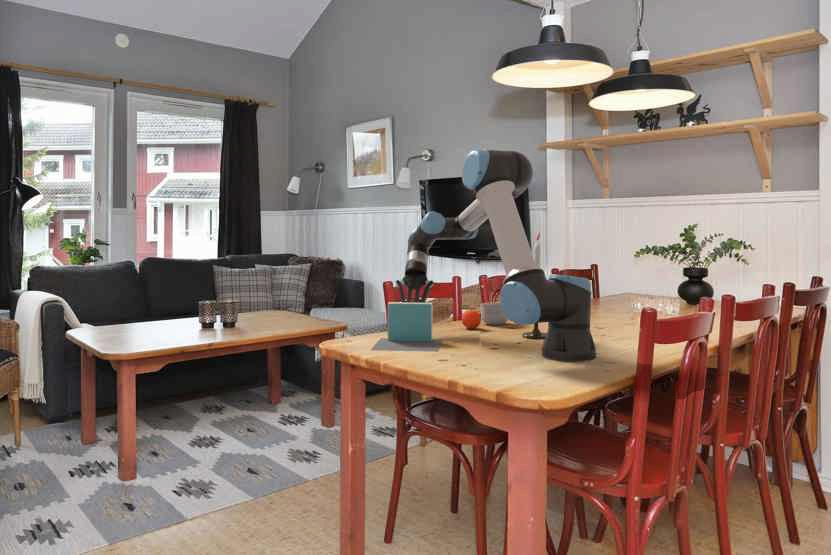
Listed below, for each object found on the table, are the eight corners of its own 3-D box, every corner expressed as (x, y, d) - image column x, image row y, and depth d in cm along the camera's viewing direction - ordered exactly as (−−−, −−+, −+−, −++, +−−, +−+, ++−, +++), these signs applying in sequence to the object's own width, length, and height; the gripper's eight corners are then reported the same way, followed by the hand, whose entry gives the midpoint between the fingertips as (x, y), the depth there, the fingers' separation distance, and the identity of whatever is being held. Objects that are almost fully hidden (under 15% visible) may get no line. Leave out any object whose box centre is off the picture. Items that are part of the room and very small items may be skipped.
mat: (380, 339, 214) (380, 337, 214) (442, 340, 212) (442, 338, 212) (370, 351, 194) (370, 349, 194) (437, 353, 192) (437, 351, 192)
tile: (389, 339, 211) (388, 302, 210) (432, 340, 210) (432, 302, 209) (387, 340, 209) (387, 303, 207) (431, 341, 207) (431, 303, 206)
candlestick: (550, 334, 223) (552, 231, 220) (554, 340, 213) (556, 231, 210) (518, 333, 224) (519, 231, 221) (520, 339, 214) (521, 231, 211)
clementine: (457, 330, 233) (457, 310, 232) (460, 326, 239) (460, 307, 239) (479, 330, 231) (479, 310, 230) (482, 327, 237) (482, 308, 237)
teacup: (485, 326, 239) (485, 305, 239) (476, 322, 250) (476, 301, 249) (521, 325, 242) (521, 304, 241) (511, 321, 253) (511, 300, 252)
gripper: (435, 274, 229) (431, 329, 214) (398, 273, 231) (392, 328, 216) (434, 259, 224) (430, 315, 209) (396, 259, 225) (389, 314, 210)
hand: (410, 322), depth 212 cm, fingers closed
